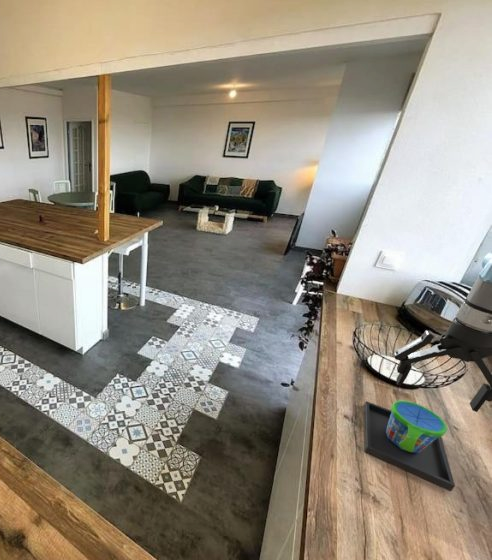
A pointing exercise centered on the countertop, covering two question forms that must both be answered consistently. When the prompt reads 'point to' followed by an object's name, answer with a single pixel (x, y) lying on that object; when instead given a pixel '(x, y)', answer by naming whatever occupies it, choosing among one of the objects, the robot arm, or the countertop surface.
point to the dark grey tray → (422, 464)
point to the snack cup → (413, 426)
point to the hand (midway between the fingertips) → (434, 394)
